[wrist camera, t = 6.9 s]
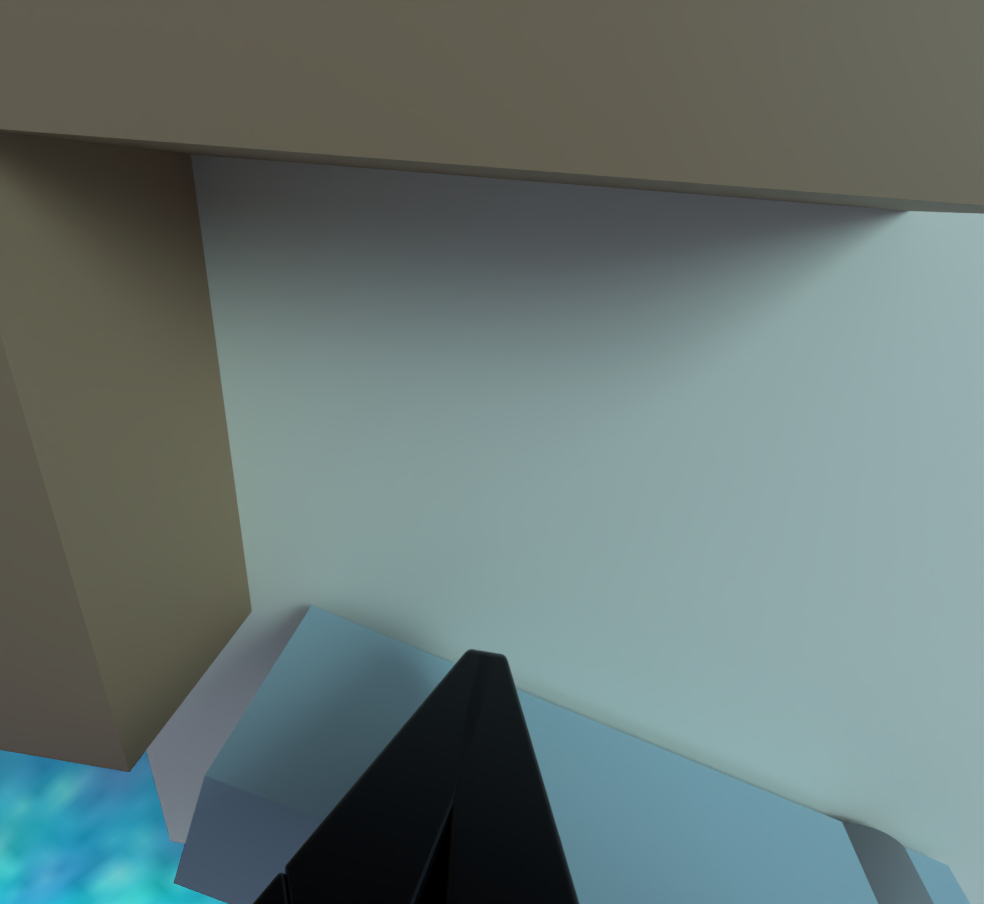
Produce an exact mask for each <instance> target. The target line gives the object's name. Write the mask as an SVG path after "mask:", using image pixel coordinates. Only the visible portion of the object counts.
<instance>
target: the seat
mask: <svg viewBox="0 0 984 904" xmlns="http://www.w3.org/2000/svg"><path fill="white" fill-rule="evenodd" d="M311 605H312V606H315V607H317V608H320V609H322V610H325V611H327V612H330V613H332V614H334V615H337V616H339V617H342V618H344V619H347V620H349V621H352V622H354V623H356V624H359V625H361V626H364V627H366V628H369V629H371V630H374V631H376V632H379V633H381V634H383V635H386V636H388V637H391V638H393V639H396V640H398V641H401V642H403V643H405V644H408V645H410V646H413V647H415V648H418V649H420V650H423V651H425V652H427V653H430V654H432V655H435V656H437V657H440V658H442V659H445V660H447V661H449V662H452V663H454V664H456V662H457V661H458V660H459V659H460V658H461V656H462V655H463V654H464V653H465V652H466V651H467V650H469V649H475V650H481V651H487V652H493V653H499V654H503V655H505V656H506V658H507V660H508V663H509V666H510V669H511V673H512V676H513V680H514V683H515V686H516V689H518V690H520V691H523V692H525V693H528V694H530V695H533V696H535V697H538V698H540V699H542V700H545V701H547V702H550V703H552V704H555V705H557V706H560V707H562V708H564V709H567V710H569V711H572V712H574V713H577V714H579V715H582V716H584V717H586V718H589V719H591V720H594V721H596V722H599V723H601V724H604V725H606V726H608V727H611V728H613V729H616V730H618V731H621V732H623V733H626V734H628V735H630V736H633V737H635V738H638V739H640V740H643V741H645V742H648V743H650V744H652V745H655V746H657V747H660V748H662V749H665V750H667V751H670V752H672V753H675V754H677V755H679V756H682V757H684V758H687V759H689V760H692V761H694V762H697V763H699V764H701V765H704V766H706V767H709V768H711V769H714V770H716V771H719V772H721V773H723V774H726V775H728V776H731V777H733V778H736V779H738V780H741V781H743V782H745V783H748V784H750V785H753V786H755V787H758V788H760V789H763V790H765V791H767V792H770V793H772V794H775V795H777V796H780V797H782V798H785V799H787V800H789V801H792V802H794V803H797V804H799V805H802V806H804V807H807V808H809V809H812V810H814V811H816V812H819V813H821V814H824V815H826V816H829V817H831V818H834V819H836V820H838V821H841V822H848V823H855V824H860V825H864V826H868V827H872V828H874V829H877V830H880V831H882V832H884V833H886V834H888V835H890V836H891V837H893V838H895V839H896V840H897V841H898V842H900V843H901V844H902V845H903V846H904V847H905V848H907V849H909V850H912V851H914V852H917V853H919V854H922V855H924V856H926V857H929V858H931V859H934V860H936V861H939V862H941V863H944V864H946V865H948V866H949V868H950V869H951V871H952V873H953V875H954V876H955V878H956V880H957V882H958V883H959V885H960V887H961V889H962V890H963V892H964V894H965V896H966V897H967V899H968V901H969V903H970V904H984V0H0V750H4V751H10V752H16V753H22V754H28V755H33V756H39V757H45V758H51V759H57V760H62V761H68V762H74V763H80V764H86V765H91V766H97V767H103V768H109V769H115V770H120V771H126V772H130V771H131V769H132V768H133V767H134V765H135V764H136V763H137V761H138V760H139V759H140V757H141V756H142V755H143V753H144V752H145V751H146V752H147V756H148V759H149V763H150V767H151V770H152V774H153V778H154V782H155V785H156V789H157V793H158V796H159V800H160V804H161V808H162V811H163V815H164V819H165V822H166V826H167V830H168V834H169V837H170V841H173V842H179V843H184V844H185V842H186V839H187V835H188V832H189V828H190V825H191V821H192V818H193V814H194V811H195V808H196V804H197V801H198V797H199V794H200V790H201V787H202V783H203V780H204V776H205V774H206V773H207V771H208V769H209V768H210V766H211V765H212V763H213V761H214V760H215V758H216V757H217V755H218V753H219V752H220V750H221V749H222V747H223V746H224V744H225V742H226V741H227V739H228V738H229V736H230V734H231V733H232V731H233V730H234V728H235V726H236V725H237V723H238V722H239V720H240V718H241V717H242V715H243V714H244V712H245V710H246V709H247V707H248V706H249V704H250V702H251V701H252V699H253V698H254V696H255V695H256V693H257V691H258V690H259V688H260V687H261V685H262V683H263V682H264V680H265V679H266V677H267V675H268V674H269V672H270V671H271V669H272V667H273V666H274V664H275V663H276V661H277V659H278V658H279V656H280V655H281V653H282V652H283V650H284V648H285V647H286V645H287V644H288V642H289V640H290V639H291V637H292V636H293V634H294V632H295V631H296V629H297V628H298V626H299V624H300V623H301V621H302V620H303V618H304V616H305V615H306V613H307V612H308V610H309V609H310V607H311Z"/></svg>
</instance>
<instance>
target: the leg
mask: <svg viewBox="0 0 984 904" xmlns="http://www.w3.org/2000/svg"><path fill="white" fill-rule="evenodd" d="M454 665H455V664H454V663H452V662H449V661H447V660H445V659H442V658H440V657H437V656H435V655H432V654H430V653H427V652H425V651H423V650H420V649H418V648H415V647H413V646H410V645H408V644H405V643H403V642H401V641H398V640H396V639H393V638H391V637H388V636H386V635H383V634H381V633H379V632H376V631H374V630H371V629H369V628H366V627H364V626H361V625H359V624H356V623H354V622H352V621H349V620H347V619H344V618H342V617H339V616H337V615H334V614H332V613H330V612H327V611H325V610H322V609H320V608H317V607H315V606H312V605H311V607H310V609H309V610H308V612H307V613H306V615H305V616H304V618H303V620H302V621H301V623H300V624H299V626H298V628H297V629H296V631H295V632H294V634H293V636H292V637H291V639H290V640H289V642H288V644H287V645H286V647H285V648H284V650H283V652H282V653H281V655H280V656H279V658H278V659H277V661H276V663H275V664H274V666H273V667H272V669H271V671H270V672H269V674H268V675H267V677H266V679H265V680H264V682H263V683H262V685H261V687H260V688H259V690H258V691H257V693H256V695H255V696H254V698H253V699H252V701H251V702H250V704H249V706H248V707H247V709H246V710H245V712H244V714H243V715H242V717H241V718H240V720H239V722H238V723H237V725H236V726H235V728H234V730H233V731H232V733H231V734H230V736H229V738H228V739H227V741H226V742H225V744H224V746H223V747H222V749H221V750H220V752H219V753H218V755H217V757H216V758H215V760H214V761H213V763H212V765H211V766H210V768H209V769H208V771H207V773H206V774H205V776H204V780H203V783H202V787H201V790H200V794H199V797H198V801H197V804H196V808H195V811H194V814H193V818H192V821H191V825H190V828H189V832H188V835H187V839H186V842H185V846H184V849H183V852H182V856H181V859H180V863H179V866H178V870H177V873H176V877H175V880H174V883H175V884H178V885H180V886H183V887H186V888H188V889H191V890H194V891H196V892H199V893H202V894H204V895H207V896H210V897H212V898H215V899H218V900H220V901H223V902H226V903H229V904H253V903H254V901H255V900H256V899H257V898H258V897H259V896H260V894H261V893H262V892H263V891H264V890H265V888H266V887H267V886H268V885H269V884H270V882H271V881H272V880H273V879H274V878H275V877H276V875H277V874H278V873H284V874H285V865H286V864H287V863H288V862H289V860H290V859H291V858H292V857H293V856H294V854H295V853H296V852H297V851H298V850H299V849H300V847H301V846H302V845H303V844H304V843H305V841H306V840H307V839H308V838H309V837H310V836H311V834H312V833H313V832H314V831H315V830H316V828H317V827H318V826H319V825H320V824H321V822H322V821H323V820H324V819H325V818H326V817H327V815H328V814H329V813H330V812H331V811H332V809H333V808H334V807H335V806H336V805H337V803H338V802H339V801H340V800H341V799H342V798H343V796H344V795H345V794H346V793H347V792H348V790H349V789H350V788H351V787H352V786H353V785H354V783H355V782H356V781H357V780H358V779H359V777H360V776H361V775H362V774H363V773H364V771H365V770H366V769H367V768H368V767H369V766H370V764H371V763H372V762H373V761H374V760H375V758H376V757H377V756H378V755H379V754H380V752H381V751H382V750H383V749H384V748H385V747H386V745H387V744H388V743H389V742H390V741H391V739H392V738H393V737H394V736H395V735H396V734H397V732H398V731H399V730H400V729H401V728H402V726H403V725H404V724H405V723H406V722H407V720H408V719H409V718H410V717H411V716H412V715H413V713H414V712H415V711H416V710H417V709H418V707H419V706H420V705H421V704H422V703H423V701H424V700H425V699H426V698H427V697H428V696H429V694H430V693H431V692H432V691H433V690H434V688H435V687H436V686H437V685H438V684H439V683H440V681H441V680H442V679H443V678H444V677H445V675H446V674H447V673H448V672H449V671H450V669H451V668H452V667H453V666H454ZM516 690H517V693H518V696H519V700H520V703H521V707H522V710H523V713H524V717H525V720H526V724H527V727H528V730H529V734H530V737H531V741H532V744H533V747H534V751H535V754H536V757H537V761H538V764H539V768H540V771H541V774H542V778H543V781H544V785H545V788H546V791H547V795H548V798H549V802H550V805H551V808H552V812H553V815H554V819H555V822H556V825H557V829H558V832H559V835H560V839H561V842H562V846H563V849H564V852H565V856H566V859H567V863H568V866H569V869H570V873H571V876H572V880H573V883H574V886H575V890H576V893H577V897H578V900H579V903H580V904H970V903H969V901H968V899H967V897H966V896H965V894H964V892H963V890H962V889H961V887H960V885H959V883H958V882H957V880H956V878H955V876H954V875H953V873H952V871H951V869H950V868H949V866H948V865H946V864H944V863H941V862H939V861H936V860H934V859H931V858H929V857H926V856H924V855H922V854H919V853H917V852H914V851H912V850H909V849H907V848H905V847H904V846H903V845H902V844H901V843H900V842H898V841H897V840H896V839H895V838H893V837H891V836H890V835H888V834H886V833H884V832H882V831H880V830H877V829H874V828H872V827H868V826H864V825H860V824H855V823H848V822H841V821H838V820H836V819H834V818H831V817H829V816H826V815H824V814H821V813H819V812H816V811H814V810H812V809H809V808H807V807H804V806H802V805H799V804H797V803H794V802H792V801H789V800H787V799H785V798H782V797H780V796H777V795H775V794H772V793H770V792H767V791H765V790H763V789H760V788H758V787H755V786H753V785H750V784H748V783H745V782H743V781H741V780H738V779H736V778H733V777H731V776H728V775H726V774H723V773H721V772H719V771H716V770H714V769H711V768H709V767H706V766H704V765H701V764H699V763H697V762H694V761H692V760H689V759H687V758H684V757H682V756H679V755H677V754H675V753H672V752H670V751H667V750H665V749H662V748H660V747H657V746H655V745H652V744H650V743H648V742H645V741H643V740H640V739H638V738H635V737H633V736H630V735H628V734H626V733H623V732H621V731H618V730H616V729H613V728H611V727H608V726H606V725H604V724H601V723H599V722H596V721H594V720H591V719H589V718H586V717H584V716H582V715H579V714H577V713H574V712H572V711H569V710H567V709H564V708H562V707H560V706H557V705H555V704H552V703H550V702H547V701H545V700H542V699H540V698H538V697H535V696H533V695H530V694H528V693H525V692H523V691H520V690H518V689H516Z"/></svg>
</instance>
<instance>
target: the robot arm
mask: <svg viewBox="0 0 984 904" xmlns="http://www.w3.org/2000/svg"><path fill="white" fill-rule="evenodd" d="M253 904H580V903H579V900H578V897H577V893H576V890H575V886H574V883H573V880H572V876H571V873H570V869H569V866H568V863H567V859H566V856H565V852H564V849H563V846H562V842H561V839H560V835H559V832H558V829H557V825H556V822H555V819H554V815H553V812H552V808H551V805H550V802H549V798H548V795H547V791H546V788H545V785H544V781H543V778H542V774H541V771H540V768H539V764H538V761H537V757H536V754H535V751H534V747H533V744H532V741H531V737H530V734H529V730H528V727H527V724H526V720H525V717H524V713H523V710H522V707H521V703H520V700H519V696H518V693H517V690H516V686H515V683H514V680H513V676H512V673H511V669H510V666H509V663H508V660H507V658H506V656H505V655H503V654H499V653H493V652H487V651H481V650H475V649H469V650H467V651H466V652H465V653H464V654H463V655H462V656H461V658H460V659H459V660H458V661H457V662H456V664H455V665H454V666H453V667H452V668H451V669H450V671H449V672H448V673H447V674H446V675H445V677H444V678H443V679H442V680H441V681H440V683H439V684H438V685H437V686H436V687H435V688H434V690H433V691H432V692H431V693H430V694H429V696H428V697H427V698H426V699H425V700H424V701H423V703H422V704H421V705H420V706H419V707H418V709H417V710H416V711H415V712H414V713H413V715H412V716H411V717H410V718H409V719H408V720H407V722H406V723H405V724H404V725H403V726H402V728H401V729H400V730H399V731H398V732H397V734H396V735H395V736H394V737H393V738H392V739H391V741H390V742H389V743H388V744H387V745H386V747H385V748H384V749H383V750H382V751H381V752H380V754H379V755H378V756H377V757H376V758H375V760H374V761H373V762H372V763H371V764H370V766H369V767H368V768H367V769H366V770H365V771H364V773H363V774H362V775H361V776H360V777H359V779H358V780H357V781H356V782H355V783H354V785H353V786H352V787H351V788H350V789H349V790H348V792H347V793H346V794H345V795H344V796H343V798H342V799H341V800H340V801H339V802H338V803H337V805H336V806H335V807H334V808H333V809H332V811H331V812H330V813H329V814H328V815H327V817H326V818H325V819H324V820H323V821H322V822H321V824H320V825H319V826H318V827H317V828H316V830H315V831H314V832H313V833H312V834H311V836H310V837H309V838H308V839H307V840H306V841H305V843H304V844H303V845H302V846H301V847H300V849H299V850H298V851H297V852H296V853H295V854H294V856H293V857H292V858H291V859H290V860H289V862H288V863H287V864H286V865H285V874H284V873H278V874H277V875H276V877H275V878H274V879H273V880H272V881H271V882H270V884H269V885H268V886H267V887H266V888H265V890H264V891H263V892H262V893H261V894H260V896H259V897H258V898H257V899H256V900H255V901H254V903H253Z"/></svg>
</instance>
